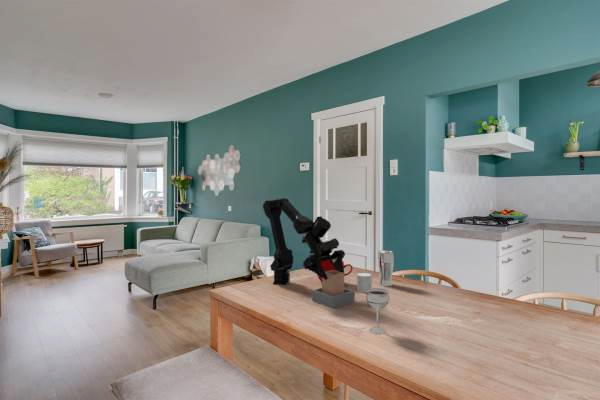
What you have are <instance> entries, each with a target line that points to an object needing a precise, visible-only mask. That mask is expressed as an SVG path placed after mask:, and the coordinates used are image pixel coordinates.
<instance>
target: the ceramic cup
mask: <svg viewBox="0 0 600 400" xmlns="http://www.w3.org/2000/svg"><path fill="white" fill-rule="evenodd" d="M332 264H333V263H331V262H330V260H328V261H323V262H321V266H322V268H323V269H324V271H325V272H327V271H331V270H335V271H337V270H336V268H335V267H334V266H333V265H332ZM342 264H343V269H344V270H345V268H346V267H350V270H349V271H348V272H347V273H345V274H344V277H346V276H348V275H350V274H351V273H352V271H353V270H354V268H353V265H351V264H350V263H349V264H348V263H347V264H345V262H344V260H342ZM316 276H317V278H318V280H319V281H320V282H321V283H322V277H321V276H319V275H318V274H316Z"/></svg>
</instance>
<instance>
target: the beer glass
mask: <svg viewBox="0 0 600 400" xmlns="http://www.w3.org/2000/svg"><path fill="white" fill-rule="evenodd" d="M394 257H395V256H394V251H392V250H386V249H385V250H384V249H382V250H378V253H377V268H378V273H379V281H378V285H379V286H381V287H387V288H388V287H392V286H393V283H394V282H393V272H394V271H393V270H394V265H395V261H394Z"/></svg>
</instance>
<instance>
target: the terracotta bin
mask: <svg viewBox="0 0 600 400" xmlns="http://www.w3.org/2000/svg"><path fill="white" fill-rule="evenodd" d="M325 273H326V275H327V277H328V279H327V280H325V279H324V278H322V282H321V284H322V285H321V288H322V293H324V294H327V295H330V296H337V295H340V294H343V293H344V288H345V276H344V273H345V272H344V273H343V272H339V271H335V270H331V271H327V272H325Z"/></svg>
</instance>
